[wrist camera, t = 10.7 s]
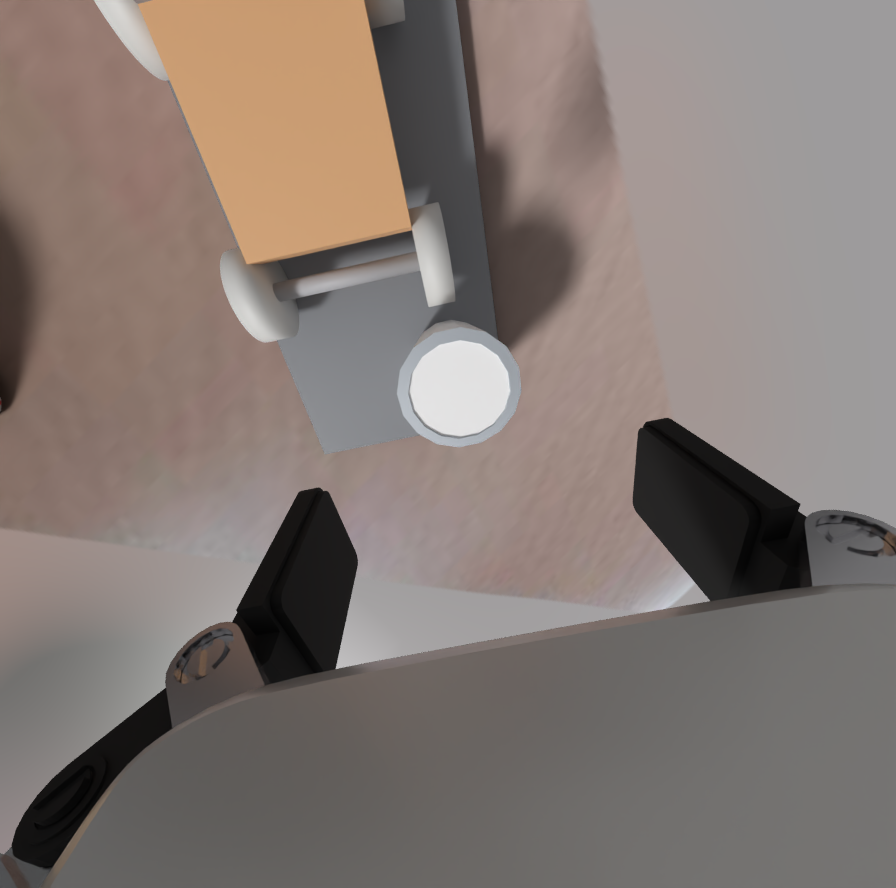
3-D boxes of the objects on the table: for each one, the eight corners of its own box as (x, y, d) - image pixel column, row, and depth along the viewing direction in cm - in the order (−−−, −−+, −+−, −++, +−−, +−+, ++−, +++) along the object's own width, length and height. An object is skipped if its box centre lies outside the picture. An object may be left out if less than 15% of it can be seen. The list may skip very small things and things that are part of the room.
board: (111, -76, 16) (93, -96, 15) (431, -163, 15) (432, -189, 14) (328, 448, 29) (324, 454, 28) (505, 412, 28) (507, 417, 27)
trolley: (128, -49, 16) (-352, -550, 6) (379, -116, 15) (297, -779, 5) (284, 334, 24) (186, 384, 14) (452, 297, 23) (470, 323, 13)
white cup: (391, 386, 26) (380, 426, 20) (423, 293, 23) (422, 305, 17) (475, 416, 27) (489, 462, 21) (514, 333, 24) (545, 357, 18)
